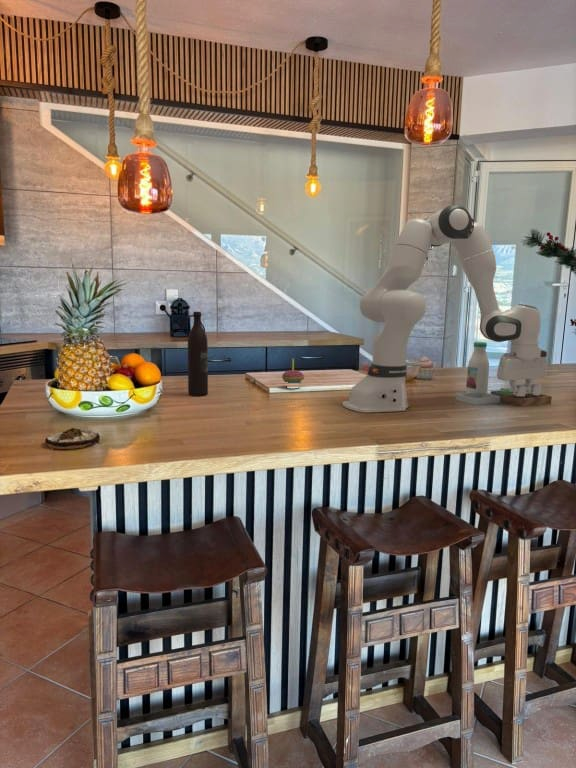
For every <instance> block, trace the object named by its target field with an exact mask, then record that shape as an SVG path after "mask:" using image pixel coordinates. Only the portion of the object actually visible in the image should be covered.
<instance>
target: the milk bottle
mask: <svg viewBox="0 0 576 768" xmlns="http://www.w3.org/2000/svg"><path fill="white" fill-rule="evenodd" d="M487 346H488V343H487V342H486V341H474V343H473V352H472V354H471V356H470V358H469V361H468V364H467V371H466V372H467V374H466V385H465V386H466V387H465V393H475V392H484V393H488V389H489V388H488V387H489V377H490V375H489V374H490V362H489V359H488V356H487V351H486V349H487Z"/></svg>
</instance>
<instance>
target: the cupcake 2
mask: <svg viewBox="0 0 576 768" xmlns="http://www.w3.org/2000/svg"><path fill="white" fill-rule="evenodd" d="M418 362H419V363H421V368H420V370H419V373H418V379H417V380H421V379H422V380H423V381H424V380H425V381H428V380H429V379H430V380H432V379H433V378H432V377H433V374H434V373H435V370H436V368H435V367H434V366H435V365H434V364H433V360H430V359H429V358H428V357H427V356H426V355H425V356H423V357H421V358H420V359H419V360H418Z"/></svg>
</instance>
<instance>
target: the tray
mask: <svg viewBox="0 0 576 768" xmlns="http://www.w3.org/2000/svg"><path fill="white" fill-rule="evenodd" d="M455 401H460V402H462V403H466V404H469V405H470V404H471V405H474V406H475V405H486V404H495V403H500V402H501V400H500V396H496V395H492V394H491V393H488V392H487V393H484V392H475V393H466V392H465V393H456V394H455Z"/></svg>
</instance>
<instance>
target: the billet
mask: <svg viewBox="0 0 576 768" xmlns="http://www.w3.org/2000/svg"><path fill="white" fill-rule="evenodd" d="M516 386H517V387H518V392H516V393H513V397H516V398H520V399H521V398H525V397H526V393H527V392H526V387H527V385H525V384H521V383H516Z"/></svg>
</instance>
